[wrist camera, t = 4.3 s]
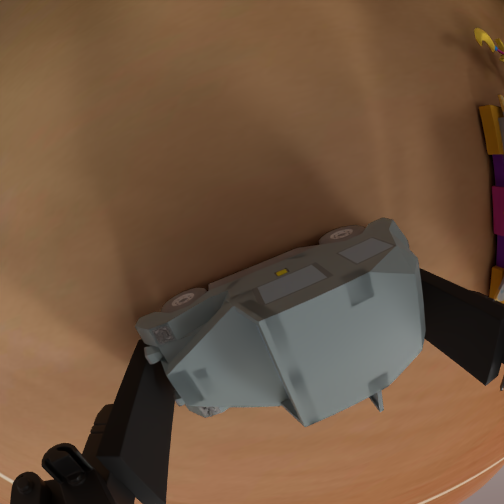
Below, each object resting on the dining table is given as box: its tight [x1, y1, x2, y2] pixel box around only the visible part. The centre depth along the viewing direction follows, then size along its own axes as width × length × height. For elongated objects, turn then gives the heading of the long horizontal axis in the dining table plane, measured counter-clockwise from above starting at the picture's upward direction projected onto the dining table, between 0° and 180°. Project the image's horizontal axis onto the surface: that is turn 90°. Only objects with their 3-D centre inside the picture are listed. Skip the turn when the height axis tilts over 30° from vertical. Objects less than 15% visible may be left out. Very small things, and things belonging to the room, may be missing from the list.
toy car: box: [135, 218, 426, 427], centre depth 10 cm, size 6×10×5 cm, turn 111°
